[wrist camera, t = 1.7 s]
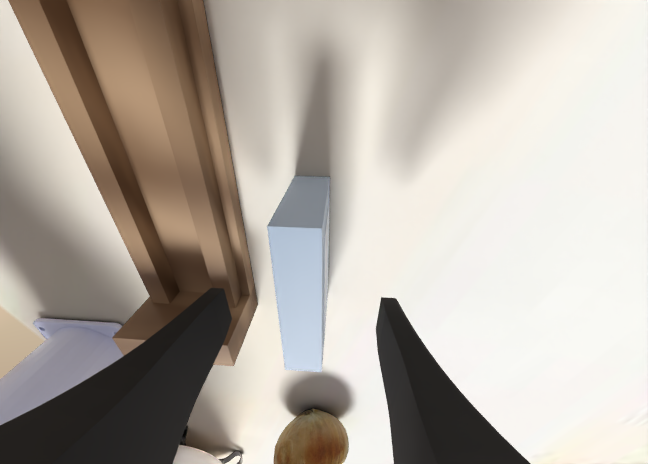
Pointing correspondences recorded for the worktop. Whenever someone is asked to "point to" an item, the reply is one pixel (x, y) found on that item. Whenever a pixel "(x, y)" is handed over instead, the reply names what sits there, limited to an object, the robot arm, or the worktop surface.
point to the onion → (312, 440)
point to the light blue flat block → (302, 270)
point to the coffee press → (199, 455)
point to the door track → (152, 147)
